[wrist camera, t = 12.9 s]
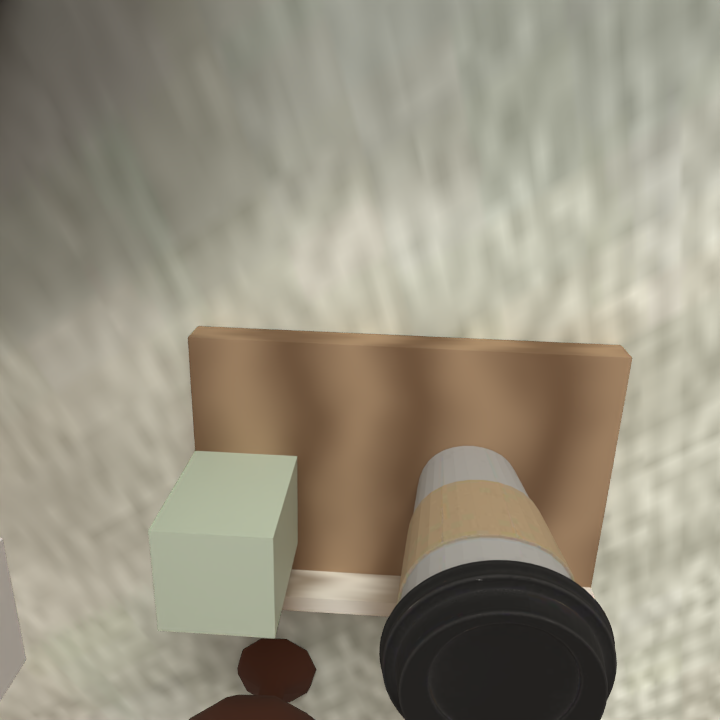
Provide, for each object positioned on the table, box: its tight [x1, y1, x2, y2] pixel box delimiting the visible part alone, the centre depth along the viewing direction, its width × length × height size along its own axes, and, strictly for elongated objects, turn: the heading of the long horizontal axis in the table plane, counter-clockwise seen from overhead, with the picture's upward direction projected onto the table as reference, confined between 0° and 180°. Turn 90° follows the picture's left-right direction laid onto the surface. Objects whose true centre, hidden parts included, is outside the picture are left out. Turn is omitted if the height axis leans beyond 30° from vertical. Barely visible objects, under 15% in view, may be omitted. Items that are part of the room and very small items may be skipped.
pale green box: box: [148, 451, 298, 638], centre depth 38 cm, size 6×6×8 cm
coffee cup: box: [379, 446, 617, 720], centre depth 33 cm, size 9×9×15 cm
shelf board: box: [188, 326, 632, 617], centre depth 40 cm, size 24×16×4 cm
